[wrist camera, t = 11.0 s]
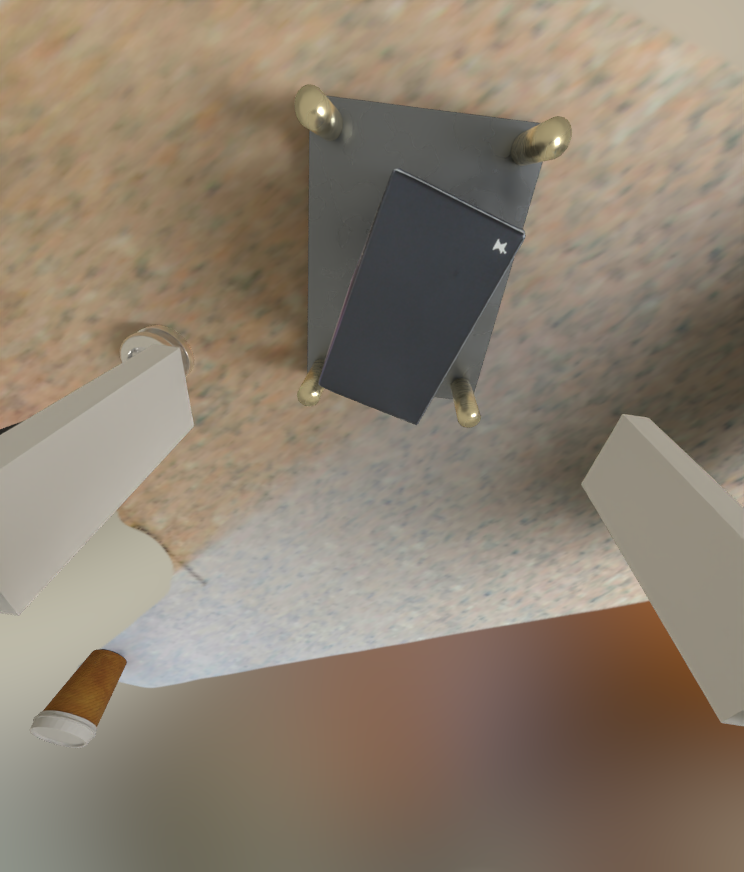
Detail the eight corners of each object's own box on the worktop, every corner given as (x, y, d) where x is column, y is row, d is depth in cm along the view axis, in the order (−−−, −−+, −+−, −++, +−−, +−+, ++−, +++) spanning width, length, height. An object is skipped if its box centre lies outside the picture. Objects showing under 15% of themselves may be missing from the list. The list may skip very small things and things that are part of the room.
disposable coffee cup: (71, 645, 66) (12, 725, 56) (115, 643, 64) (62, 725, 54) (104, 670, 71) (55, 748, 61) (145, 669, 69) (101, 749, 59)
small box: (396, 169, 22) (389, 155, 14) (489, 215, 23) (537, 230, 15) (340, 326, 28) (310, 387, 19) (417, 358, 29) (421, 430, 20)
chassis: (545, 128, 22) (589, 108, 17) (468, 393, 32) (481, 434, 27) (315, 99, 22) (285, 69, 17) (311, 372, 32) (292, 408, 27)
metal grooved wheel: (205, 370, 33) (173, 317, 31) (189, 385, 31) (153, 328, 28) (160, 383, 34) (126, 333, 32) (141, 398, 32) (102, 345, 29)
